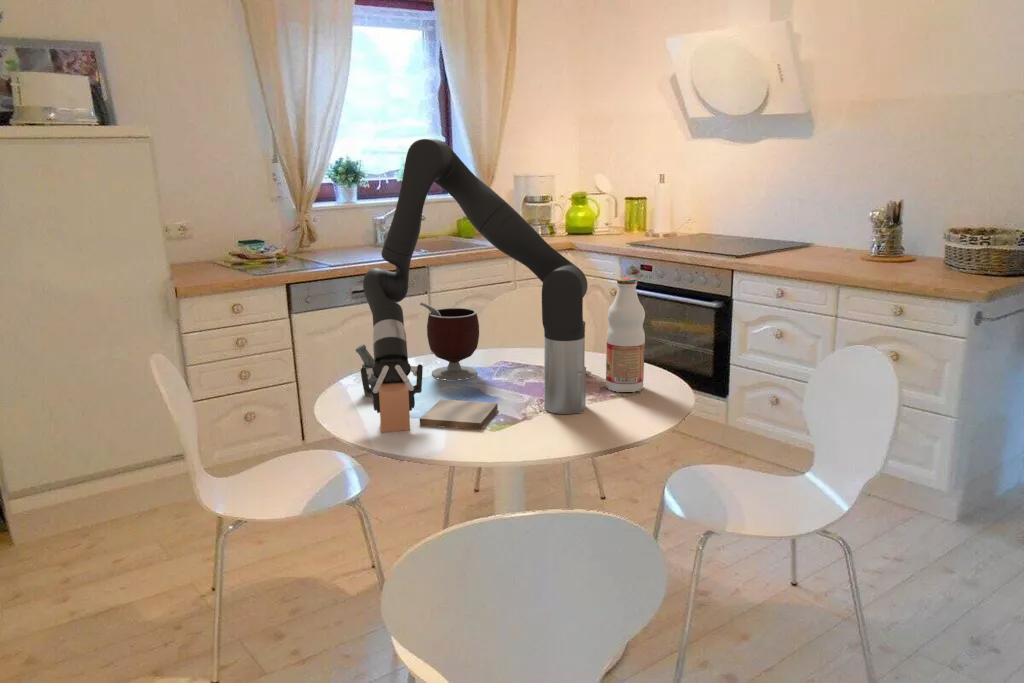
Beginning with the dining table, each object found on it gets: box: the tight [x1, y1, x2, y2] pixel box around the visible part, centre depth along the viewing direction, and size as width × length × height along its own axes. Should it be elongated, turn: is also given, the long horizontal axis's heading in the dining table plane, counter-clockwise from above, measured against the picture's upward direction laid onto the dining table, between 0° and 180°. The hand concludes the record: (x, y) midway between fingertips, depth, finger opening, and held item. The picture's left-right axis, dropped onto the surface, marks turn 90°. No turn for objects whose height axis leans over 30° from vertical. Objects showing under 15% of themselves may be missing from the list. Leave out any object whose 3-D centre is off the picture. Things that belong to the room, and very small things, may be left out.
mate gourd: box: [419, 301, 480, 381], centre depth 207 cm, size 16×14×20 cm
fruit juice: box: [605, 276, 646, 393], centre depth 192 cm, size 9×9×28 cm
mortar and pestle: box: [355, 344, 378, 389], centre depth 194 cm, size 11×9×12 cm
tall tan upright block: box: [379, 382, 411, 433], centre depth 169 cm, size 6×6×9 cm
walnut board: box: [419, 398, 498, 431], centre depth 175 cm, size 14×14×2 cm
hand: (394, 410), depth 167 cm, fingers closed on tall tan upright block, 6 cm apart
